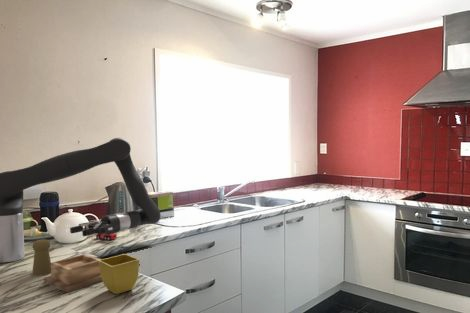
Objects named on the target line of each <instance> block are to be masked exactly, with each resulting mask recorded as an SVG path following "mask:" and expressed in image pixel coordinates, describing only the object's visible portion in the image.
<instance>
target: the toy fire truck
mask: <svg viewBox="0 0 470 313" xmlns="http://www.w3.org/2000/svg"><path fill="white" fill-rule="evenodd" d="M117 234H118V233H114V234H110V235H105V234H101V235H98V234H96V235H95V237H96V239H98V240H100V239H103V240H106V241H107V240H108V241H110V240H114V239H117V237H118V235H117Z"/></svg>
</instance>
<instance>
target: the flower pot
mask: <svg viewBox="0 0 470 313" xmlns="http://www.w3.org/2000/svg"><path fill="white" fill-rule="evenodd" d="M98 262H99V268H100V273H101V278H102V281H101V282H102V283H103V285H104V286H105V288H106V289H107V290H108V291H109V292H112V293H113V294H115V295H118V294H121V293H125V292H128V291H131V290H133V288H134V287H135V284H136V282H137V280H138V277H139V270H140V269H139V267H140V259H139V258H137V257H135V256H131V255H129V254H127V253H122V254H119V255H116V256H115V255H114V256H111V257H108V258H103V259H102V258H101V260H99V261H98Z"/></svg>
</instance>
